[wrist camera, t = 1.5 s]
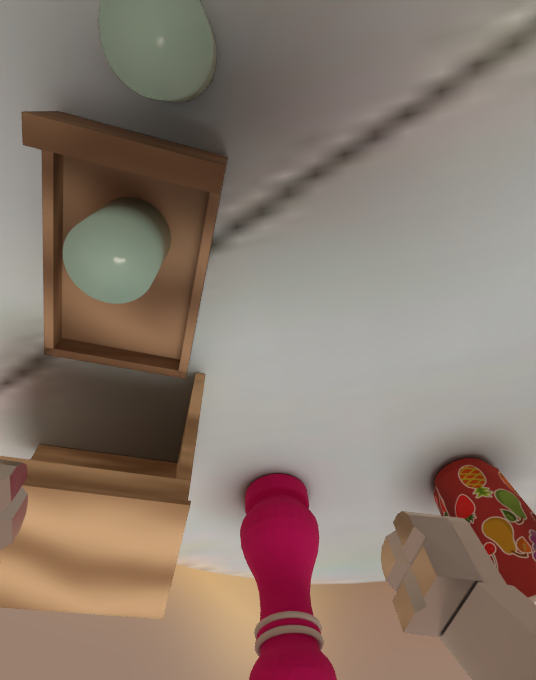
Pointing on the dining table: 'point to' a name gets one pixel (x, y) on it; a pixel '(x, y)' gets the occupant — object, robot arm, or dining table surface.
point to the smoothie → (492, 518)
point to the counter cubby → (100, 529)
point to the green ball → (117, 250)
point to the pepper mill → (283, 579)
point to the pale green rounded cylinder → (159, 46)
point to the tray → (92, 194)
